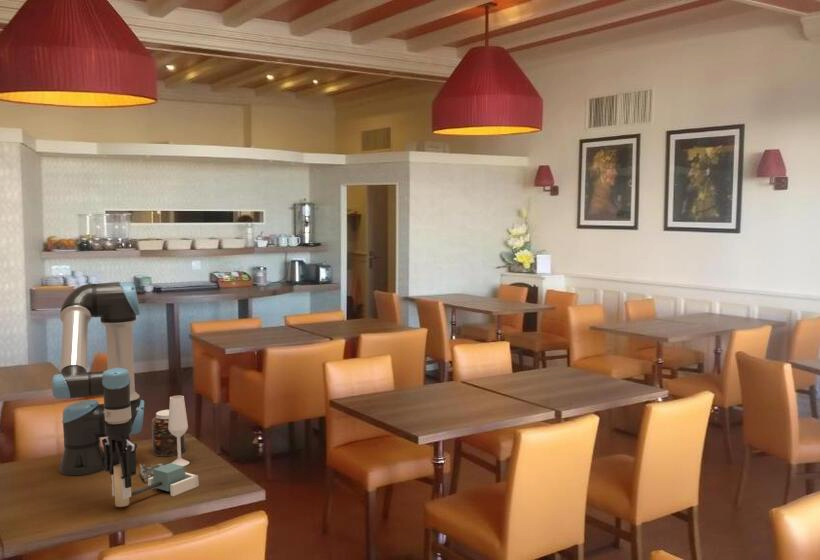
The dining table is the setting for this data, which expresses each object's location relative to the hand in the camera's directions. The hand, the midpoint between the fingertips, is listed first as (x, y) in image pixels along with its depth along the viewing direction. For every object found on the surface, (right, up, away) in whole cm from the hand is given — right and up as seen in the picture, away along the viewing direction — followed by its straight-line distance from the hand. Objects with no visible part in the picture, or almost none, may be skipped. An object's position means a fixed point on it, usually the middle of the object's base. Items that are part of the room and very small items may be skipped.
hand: (121, 495), depth 236 cm
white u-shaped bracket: (+11, -2, +17) cm, 20 cm away
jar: (-2, +1, +53) cm, 54 cm away
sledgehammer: (+5, -2, +8) cm, 10 cm away
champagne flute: (+6, 0, +40) cm, 40 cm away
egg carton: (+1, -1, +27) cm, 27 cm away
